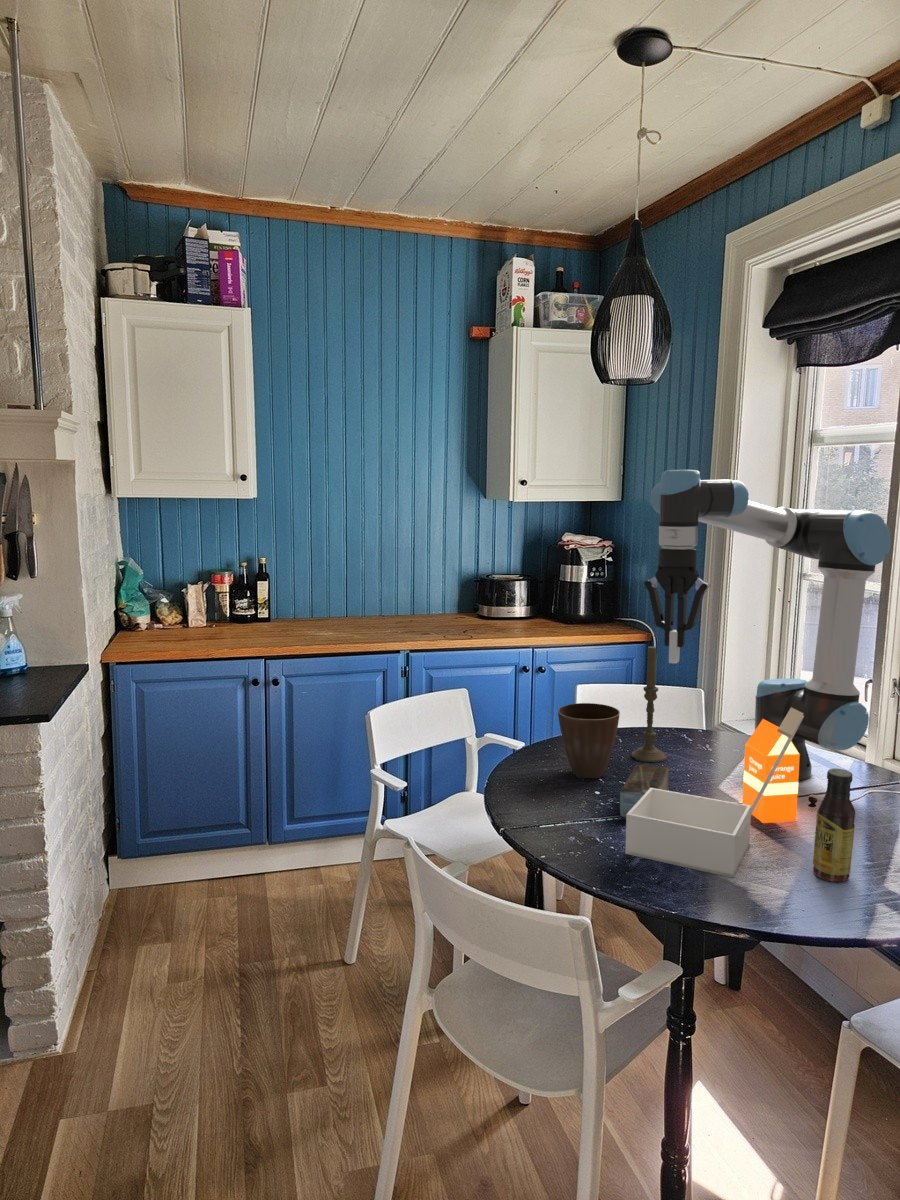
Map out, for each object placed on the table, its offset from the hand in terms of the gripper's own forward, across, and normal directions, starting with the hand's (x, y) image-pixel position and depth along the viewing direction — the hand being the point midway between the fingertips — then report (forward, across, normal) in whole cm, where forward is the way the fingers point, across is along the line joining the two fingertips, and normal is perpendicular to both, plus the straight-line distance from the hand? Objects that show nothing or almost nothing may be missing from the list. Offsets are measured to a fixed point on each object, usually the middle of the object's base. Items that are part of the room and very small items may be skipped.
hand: (674, 662), depth 167 cm
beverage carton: (+35, -7, +8) cm, 36 cm away
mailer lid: (+15, +19, -11) cm, 27 cm away
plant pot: (+35, -25, +19) cm, 47 cm away
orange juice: (+35, +18, +15) cm, 42 cm away
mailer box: (+34, +7, -11) cm, 37 cm away
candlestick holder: (+35, -16, +39) cm, 54 cm away
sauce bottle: (+35, +32, -10) cm, 48 cm away
